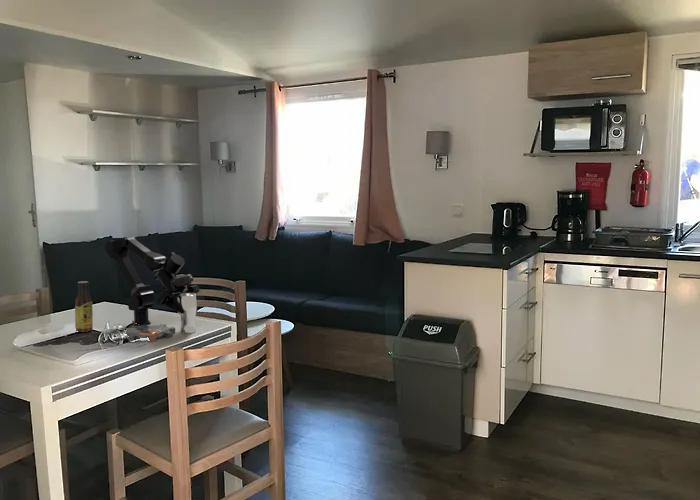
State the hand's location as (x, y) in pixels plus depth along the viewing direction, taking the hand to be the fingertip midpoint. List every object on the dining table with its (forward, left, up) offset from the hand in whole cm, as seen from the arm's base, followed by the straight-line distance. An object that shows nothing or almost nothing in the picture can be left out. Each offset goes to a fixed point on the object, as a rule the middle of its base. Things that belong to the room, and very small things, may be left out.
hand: (190, 311), depth 225 cm
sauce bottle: (-20, -37, -8) cm, 43 cm away
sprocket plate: (-2, -16, -8) cm, 18 cm away
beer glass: (-1, -1, -8) cm, 9 cm away
